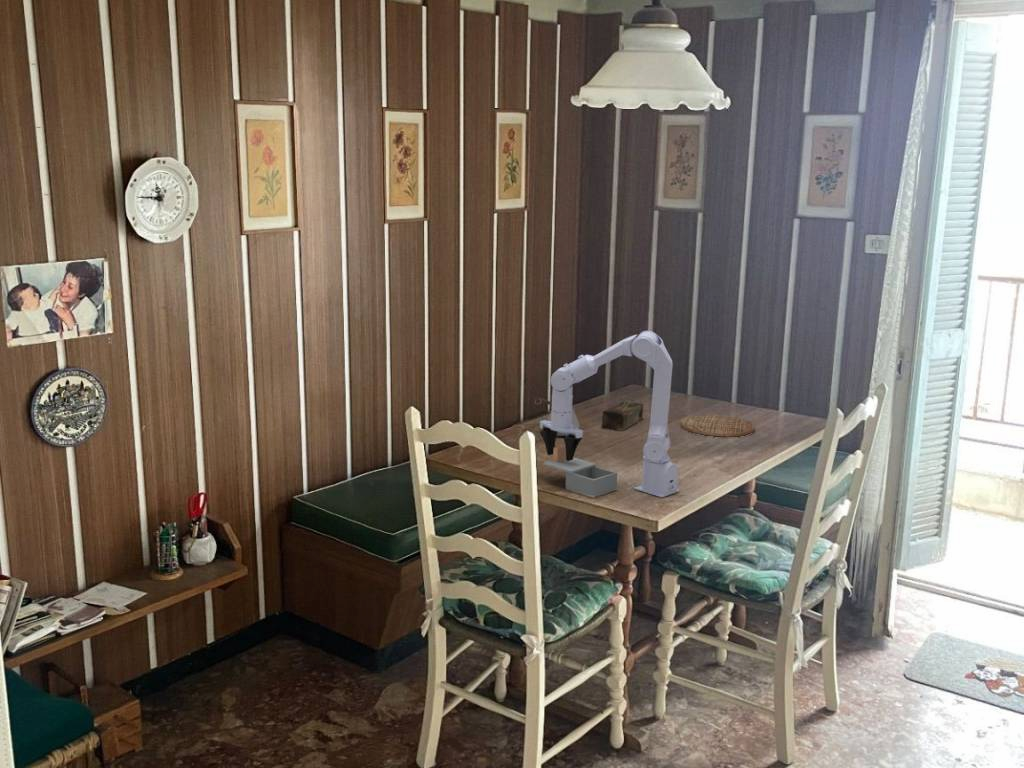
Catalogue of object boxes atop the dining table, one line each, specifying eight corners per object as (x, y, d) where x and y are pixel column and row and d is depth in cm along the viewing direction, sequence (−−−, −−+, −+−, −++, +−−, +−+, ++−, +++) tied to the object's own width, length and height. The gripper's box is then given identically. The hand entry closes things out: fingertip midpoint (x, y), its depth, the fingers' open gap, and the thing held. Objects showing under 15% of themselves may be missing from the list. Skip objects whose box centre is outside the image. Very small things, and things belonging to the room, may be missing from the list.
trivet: (752, 442, 331) (752, 436, 331) (675, 434, 338) (676, 429, 337) (755, 423, 355) (756, 418, 354) (684, 417, 361) (684, 411, 361)
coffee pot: (556, 427, 342) (558, 384, 339) (586, 433, 336) (587, 389, 332) (521, 440, 325) (522, 395, 322) (551, 447, 319) (552, 400, 315)
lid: (596, 465, 283) (596, 450, 282) (571, 473, 276) (572, 457, 275) (568, 457, 290) (568, 442, 289) (543, 464, 283) (544, 449, 282)
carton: (616, 490, 279) (617, 472, 278) (593, 498, 272) (593, 480, 271) (588, 481, 286) (589, 464, 285) (565, 489, 279) (566, 471, 278)
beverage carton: (643, 420, 355) (644, 402, 354) (622, 432, 339) (623, 413, 337) (622, 416, 359) (623, 398, 357) (600, 429, 342) (601, 410, 341)
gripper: (590, 413, 280) (588, 460, 283) (552, 403, 290) (550, 449, 293) (574, 417, 275) (572, 465, 278) (535, 407, 285) (534, 453, 288)
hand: (560, 457), depth 285 cm, fingers open, 7 cm apart
